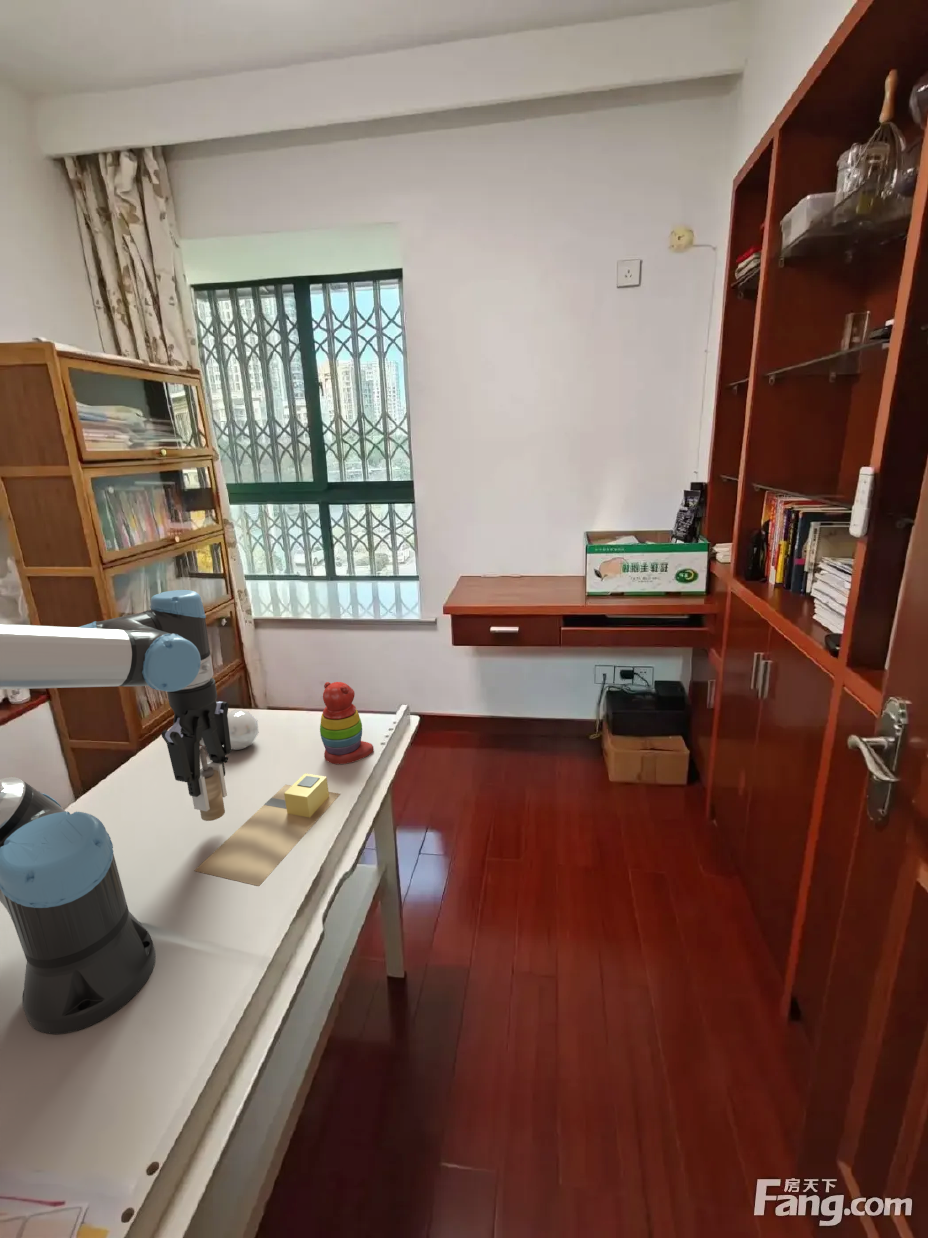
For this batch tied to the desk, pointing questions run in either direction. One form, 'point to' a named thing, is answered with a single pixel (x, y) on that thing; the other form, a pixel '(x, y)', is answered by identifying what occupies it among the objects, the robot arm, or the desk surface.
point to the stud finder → (306, 795)
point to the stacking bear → (342, 726)
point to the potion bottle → (241, 729)
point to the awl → (211, 790)
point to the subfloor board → (261, 841)
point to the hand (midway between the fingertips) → (210, 801)
